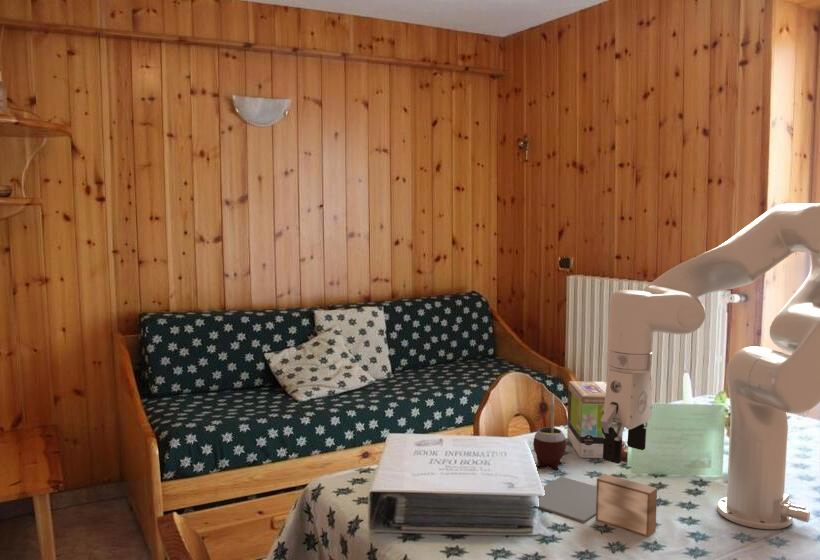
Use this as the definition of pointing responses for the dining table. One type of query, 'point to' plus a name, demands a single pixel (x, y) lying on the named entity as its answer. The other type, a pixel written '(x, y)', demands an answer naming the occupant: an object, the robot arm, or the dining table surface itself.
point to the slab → (626, 504)
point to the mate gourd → (549, 444)
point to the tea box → (586, 417)
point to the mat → (570, 499)
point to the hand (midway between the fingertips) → (624, 454)
